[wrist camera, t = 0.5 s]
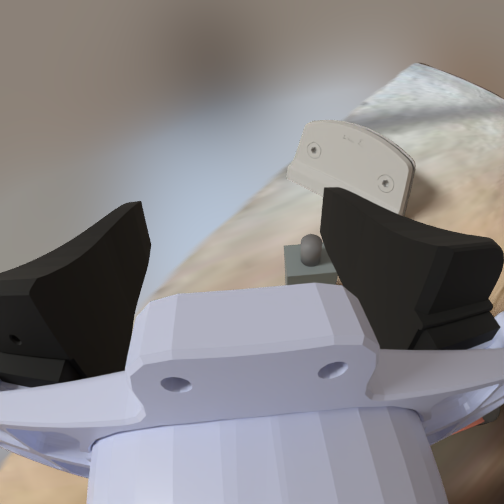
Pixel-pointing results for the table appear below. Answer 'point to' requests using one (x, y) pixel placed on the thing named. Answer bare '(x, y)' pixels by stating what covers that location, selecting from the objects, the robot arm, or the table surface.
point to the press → (308, 262)
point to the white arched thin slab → (353, 163)
